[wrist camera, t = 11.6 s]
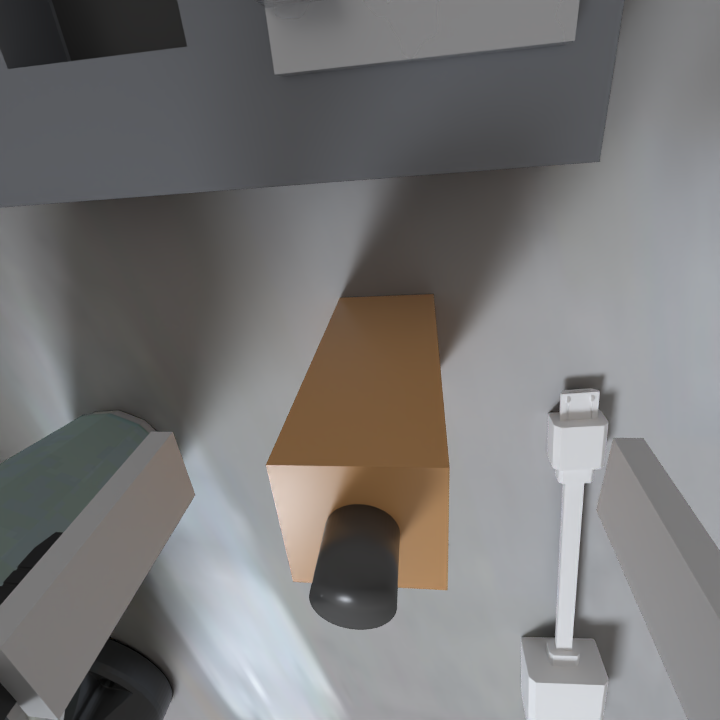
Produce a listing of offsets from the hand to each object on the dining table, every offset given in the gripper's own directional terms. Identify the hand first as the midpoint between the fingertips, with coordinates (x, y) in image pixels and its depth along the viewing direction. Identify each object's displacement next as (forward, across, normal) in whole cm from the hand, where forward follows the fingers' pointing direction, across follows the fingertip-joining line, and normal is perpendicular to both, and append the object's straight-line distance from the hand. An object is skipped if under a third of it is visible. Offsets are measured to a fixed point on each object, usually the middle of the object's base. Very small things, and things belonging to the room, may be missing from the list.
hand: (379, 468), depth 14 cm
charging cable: (+10, -10, +20) cm, 25 cm away
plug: (+10, 0, 0) cm, 10 cm away
